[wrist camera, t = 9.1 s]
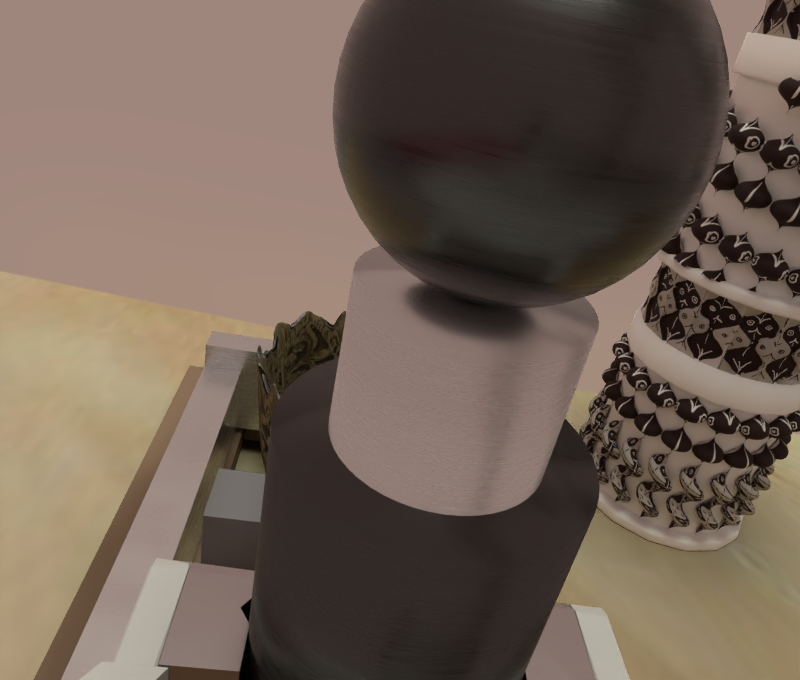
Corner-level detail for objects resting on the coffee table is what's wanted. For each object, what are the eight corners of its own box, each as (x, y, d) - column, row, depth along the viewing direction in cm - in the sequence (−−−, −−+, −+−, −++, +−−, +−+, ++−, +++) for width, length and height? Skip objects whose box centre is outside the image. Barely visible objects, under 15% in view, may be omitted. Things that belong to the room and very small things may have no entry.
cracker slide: (473, 443, 31) (607, -2, 22) (601, 1102, 13) (1646, 99, 4) (208, 407, 30) (235, -83, 21) (-68, 1084, 12) (-800, -491, 3)
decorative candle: (791, 540, 32) (1178, -58, 20) (645, 575, 28) (1015, -141, 16) (661, 424, 39) (888, -66, 27) (531, 439, 35) (729, -124, 23)
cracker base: (491, 424, 35) (521, 327, 33) (613, 932, 17) (710, 807, 14) (189, 382, 34) (193, 275, 31) (-57, 895, 15) (-105, 743, 12)
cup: (291, 443, 31) (312, 290, 27) (440, 496, 30) (483, 344, 26) (204, 552, 25) (214, 372, 21) (388, 626, 23) (436, 449, 19)
